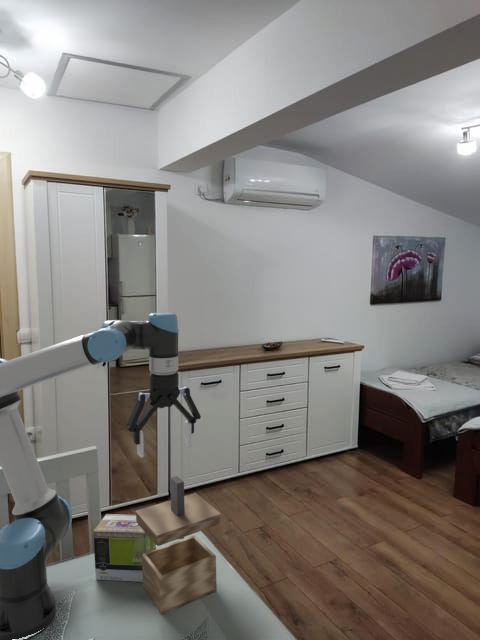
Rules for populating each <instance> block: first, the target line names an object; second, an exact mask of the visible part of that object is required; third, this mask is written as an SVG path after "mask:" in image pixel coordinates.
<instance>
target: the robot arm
mask: <svg viewBox="0 0 480 640" xmlns="http://www.w3.org/2000/svg"><path fill="white" fill-rule="evenodd" d="M178 323H179V322H178V316H177V315H176V314H175V312H151V313H150V314H149V315H148V318H147V319H145V320H121V319H113V320H105V321H103V323H102V325H101V326H100V328H99V329H96V330H93V331H92V332H91V331H90V332H88V333H86V334H82V335H79V336H75V337H73V338H70V339H67V340H63V341H61V342H59V343H56V344H53V345H50V346H47V347H44V348H41V349H38V350H35V351H33V352H29V353H26V354H23V355H22V356H18V357H15V358H12V359H9V360H7V359H4V358H1V357H0V467H1V470H2V472H3V474H4V477H5V480H6V482H7V483H6V484H7V485H8V488H9V490H10V492H11V495H12V498H13V500H14V502H15V503H14V505H13V506H14V507H13V508H12V511H11V513H12V515H13V518H14V520H13V521H12V522H11V523H7V524H5V525H3V527H1V528H0V640H12V639H19V638H22V637H26V636H28V635H31V634H34V633H36V632H38V631H40V630H42V629H43V628H45V627H46V626H48V625H49V624H50V623H52V622H53V621H54V619H55V618H56V614H57V604H56V603H57V602H56V599H55V596H54V594H53V592H52V590H51V588H50V586H49V583H48V579H47V560H48V559H49V558H50V556H51V555H52V553H53V552H54V551H55V549H56V548H57V546H58V545H59V543H60V542H61V541H62V540H63V539H64V538H65V536H66V534H67V533H68V530H69V528H70V526H71V525H72V519H73V511H72V508H71V505H70V504H69V502H68V501H67V500H66V499H65V498H62V497H61V496H60V495H58V493H57V491H56V490H54V489H52V488H49V487H48V485H47V481H46V479H45V476H44V475H43V474H44V473H43V471H42V469H41V466H40V464H39V461H38V458H37V456H36V454H35V451H34V448H33V445H32V442H31V441H30V437H29V435H28V432H27V430H26V426H25V425H24V422H23V419H22V417H21V415H20V411H19V405H20V403H21V401H22V399H21V395H20V393H19V391H22V390H25V389H28V388H31V387H34V386H36V385H40V384H43V383H46V382H49V381H52V380H55V379H57V378H60V377H63V376H66V375H69V374H72V373H74V372H75V373H76V372H77V371H81V370H83V369H86V368H89V367H92V366H95V365H100V364H101V363H108V362H109V363H110V362H112V361H115V360H117V359H119V358H120V357H121V356H122V355H123V354H125V353H126V352H128V351H129V350H148V359H149V362H148V365H149V366H148V367H149V368H148V369H149V372H150V373H149V391H148V392H147V393H146V392H145V393H144V392H141V391H139V392H138V393H137V396H136V397H137V399H136V403H135V405H134V407H133V409H132V412H131V414H130V416H129V418H128V421H127V422H126V426H125V428H126V429H125V430H127V431H129V432H130V433H132V435H133V444H135V445H136V454H137V455H138V456H139V457H140V458H144V457H145V455H144V452H145V451H144V450H145V449H144V448H145V447H144V446H145V445H144V432H143V431H142V429H144V426H146V424H147V423H148V421H149V420H150V418H151V417H152V415H153V414H154V413H155V412H156V411H157V410H158V409H164V408H170V407H172V406H174V407H175V408H176V409H177V410H178V412H180V414H181V415H182V416H183V417H185V419H186V420H185V421H184V445H186V446H187V447H188V448H192V446H193V445H192V434H194V433H195V424H196V423H197V420H200V419H201V418H202V416H201V414H200V412H199V410H198V408H197V406H196V404H195V402H194V400H193V398H192V395H191V391H190V390H191V389H190V387H187V386H185V385H182V387H181V388H179V383H180V382H179V381H180V380H179V375H180V374H179V373H178V371H179V332H180V331H179V326H178V325H179V324H178ZM180 395H181V396H182V397H183V398H184V400H185V404H186V405H187V407H188V409H189V411H190V412H191V414H190V412H189V411H188V410H187V409H186V408H185V407H184V406H183V405H182V403H181V402H180V401H179V400H178V397H179V396H180ZM148 399H149V400H150V401H149V402H148ZM146 402H148V404H147V406H146V407H145V410H143V409H144V406H145V403H146ZM142 411H143V412H142ZM141 413H142V414H141ZM50 625H51V624H50ZM50 625H49V626H50ZM49 626H48V627H49Z"/></svg>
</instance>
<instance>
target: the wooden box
mask: <svg viewBox="0 0 480 640" xmlns="http://www.w3.org/2000/svg"><path fill="white" fill-rule="evenodd" d="M142 566H143V582H142V589H143V590H144V592H145V593H146V595H147V597H148V598H149V600H151V602H152V604H153V605H154V606H155V608H156V609H157V611H158V613H159V614H160V615H161V616H164V615H166V614H169V613H170V612H172V611H174V610H177V609H179V608H182V607H184V606H185V605H188V604H190V603H193V602H194V601H198V600H199V599H202V598H204V597H207V596H209V595H210V594H213V593H215V592H217V589H218V588H217V556H216V554H214V553H213V552H212V551H211V550H210V549H209V547H207V546H206V544H205V543H203V542H202V541H201V540H200V539H199V538H198V537H197V536H196V535H194V534H193V535H190V536H189V537H188V536H187V537H185V538H183V539H181V540H177V541H173V542H172V543H169V544H165V545H164V546H161V547H160V546H159V547H158V548H156V549H155V550H152V551H149V552H146V553H144V554H142Z"/></svg>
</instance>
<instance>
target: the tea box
mask: <svg viewBox="0 0 480 640" xmlns="http://www.w3.org/2000/svg"><path fill="white" fill-rule="evenodd" d="M92 533H93V552H94V553H93V554H94V569H95V570H94V572H95V580H99V581H101V580H103V581H120V582H121V581H122V582H139V583H143V566H142V554H144V553H146V552H149V551H152V550H155V549H157V545H155V543H154V542H153V541H152V540H151V539H150V537H149V536H148V535H147V534H146V533H145V532H144V530H143V529H142V528H141V527H140V526H139V524H138V523H137V521H136V514H124V513H123V514H120V513H119V514H118V513H117V514H114V513H113V514H112V513H106V514H105V515H104V517H103V518H102V519H101V520H100V522H99V523H98V525H96V527H95V528H94V529H93V531H92Z"/></svg>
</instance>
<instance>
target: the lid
mask: <svg viewBox="0 0 480 640" xmlns="http://www.w3.org/2000/svg"><path fill="white" fill-rule="evenodd" d="M169 480H170V500H167V501H164V502H161V503H157V504H154V505H150V506H148V507H143V508H140V509H137V510H135V511H134V513H135V514H134V515H136V521H137V523H138V524H139V526H140V527H141V528H142V529H143V530H144V532H145V533H146V534H147V535H148V536H149V537H150V539H151V540H152V541H153V542H154V543H155V545H156V547H160V546H162V545H167V544H168V543H171V542H175V541H176V540H177V541H178V540H179V539H182V538H183V539H184V538H186V537H188V536H192V535H194V534H196V533H199V532H201V531H204V530H207V529H210V528H214V527H215V526H219V525H221V518H222V513H221V512H220V511H219V510H217V509H216V508H215V507H214V506H213V505H211V504H210V503H209V502H208V501H206V500H205V499H204V498H203V497H202V496H200V495H199V494H198V493H197V492H193V493H191V494H187V495H185V481H184V480H182V478H180V477H179V476H178V475H177V476H173V477H170V478H169Z"/></svg>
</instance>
